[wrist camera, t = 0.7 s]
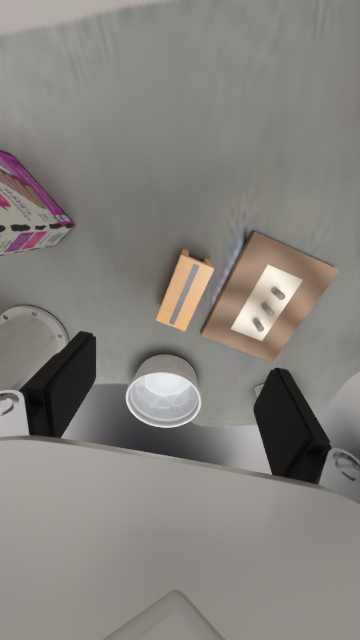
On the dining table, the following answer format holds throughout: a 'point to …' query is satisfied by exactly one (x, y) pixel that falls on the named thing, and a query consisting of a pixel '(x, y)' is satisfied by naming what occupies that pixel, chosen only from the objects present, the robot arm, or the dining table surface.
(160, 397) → the ramekin
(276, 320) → the pin board
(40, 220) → the candy bar box
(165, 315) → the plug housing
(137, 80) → the dining table surface
